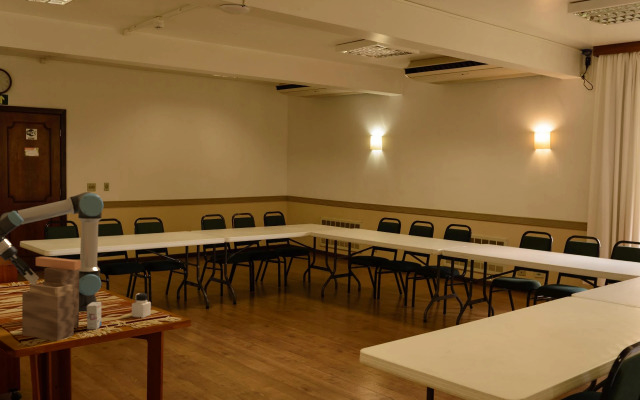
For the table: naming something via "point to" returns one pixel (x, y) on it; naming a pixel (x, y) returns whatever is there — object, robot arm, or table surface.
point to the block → (58, 263)
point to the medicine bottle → (141, 306)
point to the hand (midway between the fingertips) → (36, 282)
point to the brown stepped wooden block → (52, 305)
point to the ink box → (94, 315)
